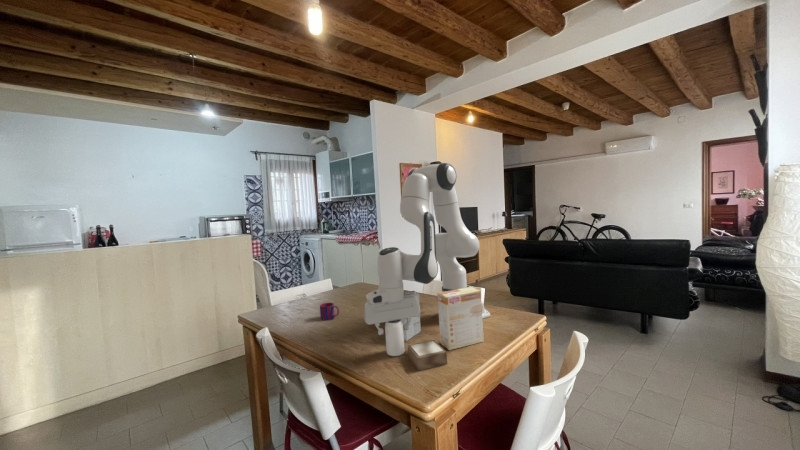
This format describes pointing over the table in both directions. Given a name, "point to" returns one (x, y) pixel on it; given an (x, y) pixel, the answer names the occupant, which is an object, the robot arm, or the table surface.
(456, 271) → the robot arm
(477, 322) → the coffeecake box
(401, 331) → the can
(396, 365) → the table surface
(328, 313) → the mug
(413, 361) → the base block
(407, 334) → the light bulb box
